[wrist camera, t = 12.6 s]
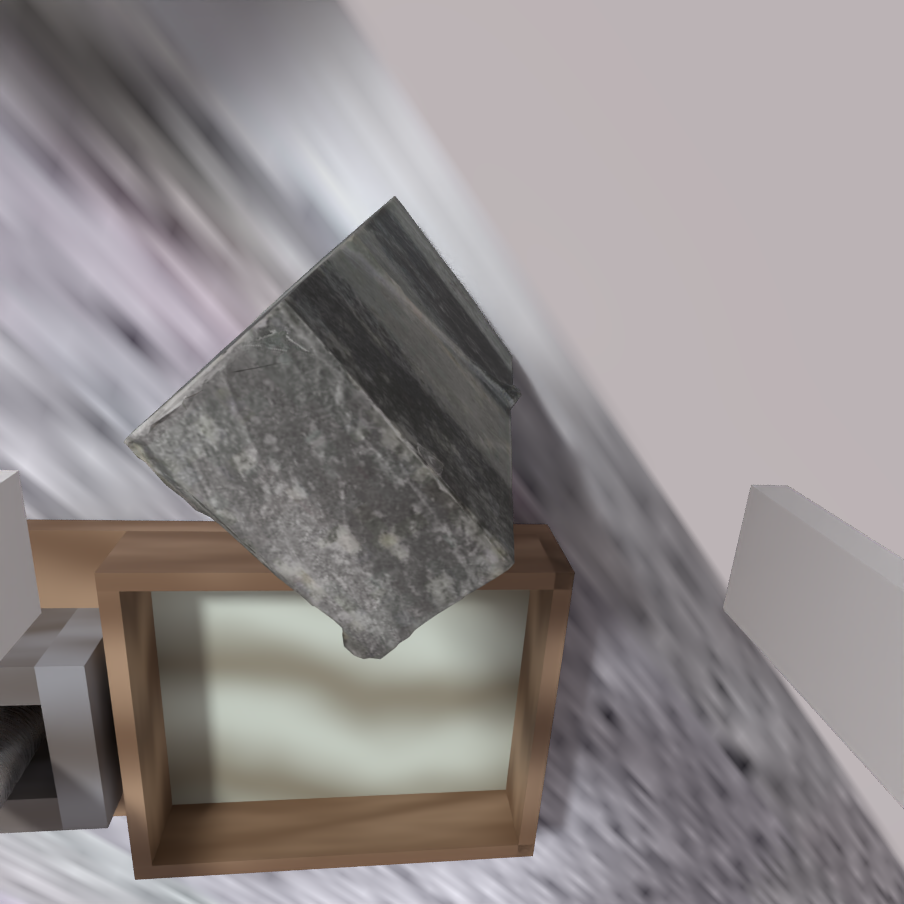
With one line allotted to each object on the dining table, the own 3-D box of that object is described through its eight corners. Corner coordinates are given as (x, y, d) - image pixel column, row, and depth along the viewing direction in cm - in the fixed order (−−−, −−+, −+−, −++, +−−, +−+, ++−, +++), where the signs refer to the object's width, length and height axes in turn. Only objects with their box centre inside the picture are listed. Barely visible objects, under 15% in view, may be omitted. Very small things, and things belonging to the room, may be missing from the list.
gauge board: (-98, 518, 27) (-194, 580, 23) (547, 524, 31) (578, 579, 26) (-30, 806, 33) (-96, 904, 28) (514, 782, 37) (535, 865, 32)
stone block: (442, 431, 29) (541, 369, 27) (378, 695, 17) (552, 615, 15) (307, 267, 26) (407, 184, 24) (105, 441, 14) (278, 298, 12)
